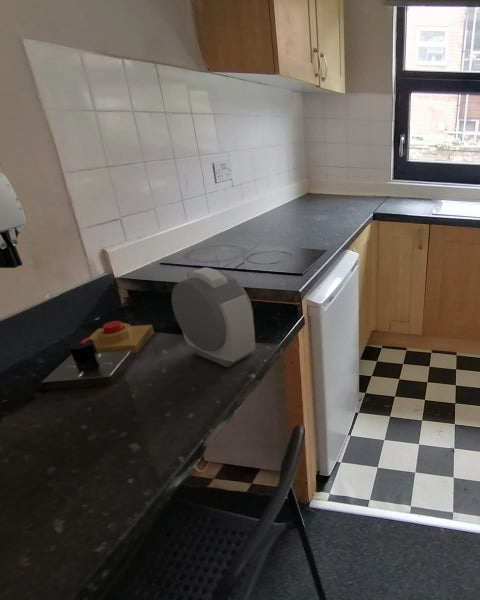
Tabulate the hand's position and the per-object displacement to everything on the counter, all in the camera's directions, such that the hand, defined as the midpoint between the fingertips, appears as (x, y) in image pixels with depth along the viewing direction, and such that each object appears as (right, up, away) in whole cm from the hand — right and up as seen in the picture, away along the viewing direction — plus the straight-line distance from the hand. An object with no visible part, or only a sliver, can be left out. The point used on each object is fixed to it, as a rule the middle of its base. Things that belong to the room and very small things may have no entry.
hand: (11, 266), depth 79 cm
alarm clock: (+36, -19, +12) cm, 42 cm away
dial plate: (+12, -22, +5) cm, 25 cm away
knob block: (+10, -17, +16) cm, 25 cm away
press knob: (+10, -14, +15) cm, 22 cm away
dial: (+12, -20, +4) cm, 24 cm away
